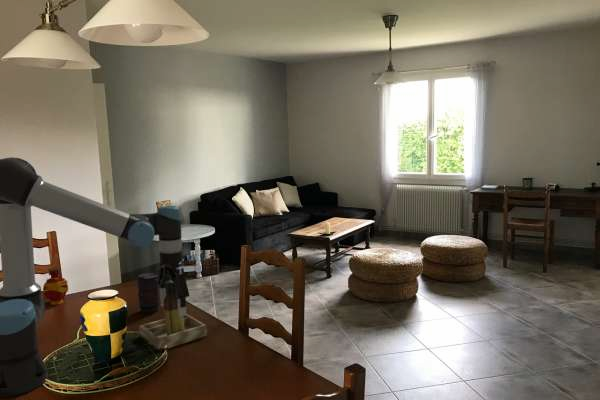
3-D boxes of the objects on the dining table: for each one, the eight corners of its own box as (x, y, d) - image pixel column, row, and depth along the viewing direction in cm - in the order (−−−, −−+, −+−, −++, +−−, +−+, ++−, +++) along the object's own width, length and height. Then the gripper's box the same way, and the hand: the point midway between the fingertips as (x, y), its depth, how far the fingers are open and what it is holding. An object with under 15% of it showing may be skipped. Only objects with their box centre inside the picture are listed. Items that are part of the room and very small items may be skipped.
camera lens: (149, 315, 186) (147, 279, 184) (135, 312, 190) (132, 276, 188) (164, 309, 192) (162, 274, 190) (150, 306, 196) (148, 271, 195)
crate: (158, 351, 154) (157, 339, 153) (139, 336, 166) (139, 325, 166) (207, 335, 165) (206, 325, 165) (186, 322, 178) (185, 312, 177)
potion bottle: (38, 307, 198) (35, 272, 196) (52, 298, 208) (49, 266, 206) (62, 306, 198) (59, 272, 196) (75, 298, 208) (72, 265, 206)
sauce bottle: (187, 332, 167) (184, 278, 164) (181, 339, 161) (177, 284, 158) (169, 332, 168) (166, 278, 165) (162, 339, 162) (159, 283, 159)
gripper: (198, 255, 153) (200, 317, 156) (165, 243, 172) (168, 299, 175) (176, 259, 148) (179, 323, 151) (145, 246, 167) (148, 303, 170)
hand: (173, 310), depth 163 cm, fingers open, 13 cm apart
